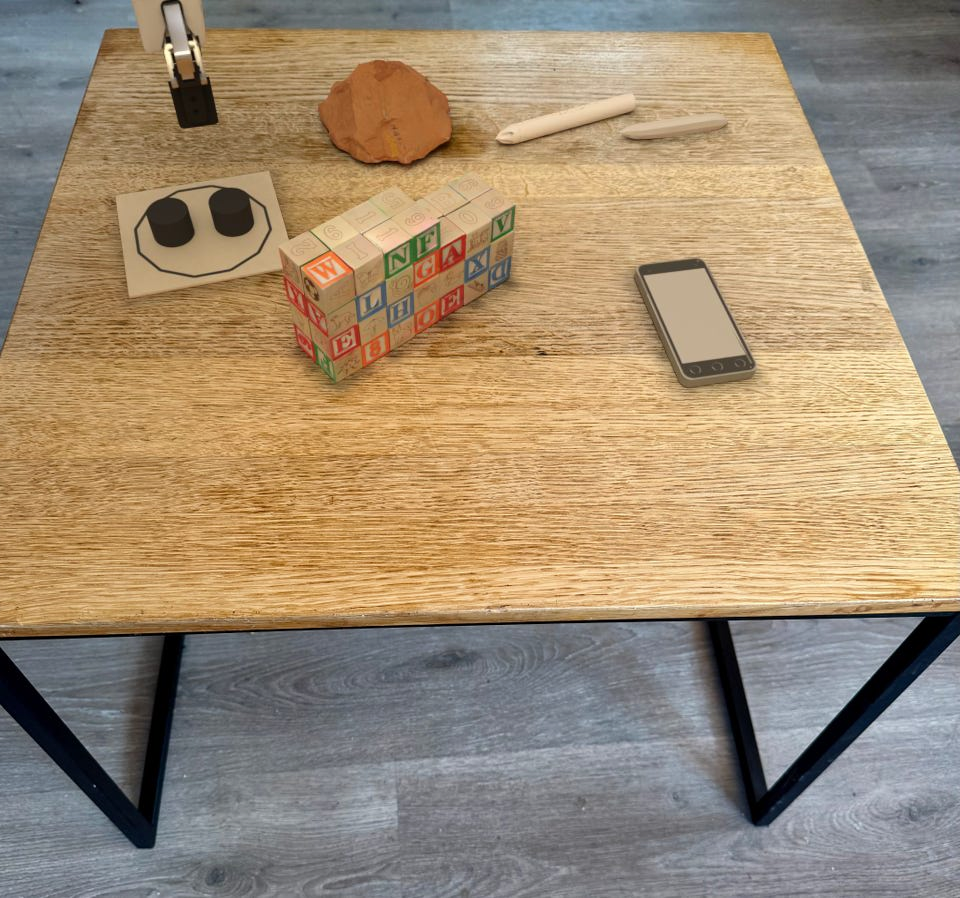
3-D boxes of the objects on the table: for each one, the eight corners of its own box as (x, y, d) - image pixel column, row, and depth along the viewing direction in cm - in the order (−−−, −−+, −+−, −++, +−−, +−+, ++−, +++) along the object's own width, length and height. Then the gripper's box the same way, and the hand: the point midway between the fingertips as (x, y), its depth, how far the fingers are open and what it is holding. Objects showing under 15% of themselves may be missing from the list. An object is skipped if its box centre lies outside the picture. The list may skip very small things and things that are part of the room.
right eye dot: (217, 240, 88) (211, 216, 86) (211, 214, 90) (205, 190, 88) (257, 233, 89) (252, 209, 86) (250, 207, 91) (245, 184, 88)
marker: (499, 152, 98) (500, 134, 96) (490, 141, 99) (491, 123, 97) (634, 114, 103) (638, 96, 102) (625, 104, 105) (628, 86, 103)
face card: (129, 298, 83) (128, 296, 83) (115, 197, 91) (114, 194, 91) (296, 267, 87) (296, 264, 86) (269, 172, 95) (269, 170, 94)
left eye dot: (156, 251, 87) (148, 227, 84) (151, 224, 89) (143, 200, 86) (197, 243, 88) (190, 220, 85) (192, 217, 90) (185, 194, 87)
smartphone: (684, 380, 79) (633, 265, 87) (682, 388, 80) (631, 273, 88) (760, 370, 80) (703, 256, 88) (756, 377, 81) (700, 264, 89)
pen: (614, 137, 101) (616, 125, 100) (723, 121, 104) (727, 108, 102) (619, 146, 100) (621, 133, 99) (729, 129, 103) (733, 116, 101)
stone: (462, 176, 99) (446, 128, 90) (339, 204, 101) (310, 160, 91) (443, 63, 103) (425, 4, 93) (324, 92, 104) (294, 37, 95)
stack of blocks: (469, 244, 90) (474, 142, 80) (511, 279, 87) (521, 177, 77) (295, 344, 81) (275, 243, 71) (335, 385, 79) (321, 287, 68)
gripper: (75, -176, 65) (136, 43, 79) (92, -68, 56) (158, 159, 70) (178, -183, 67) (220, 33, 81) (211, -78, 58) (252, 145, 72)
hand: (191, 91), depth 75 cm, fingers open, 9 cm apart
